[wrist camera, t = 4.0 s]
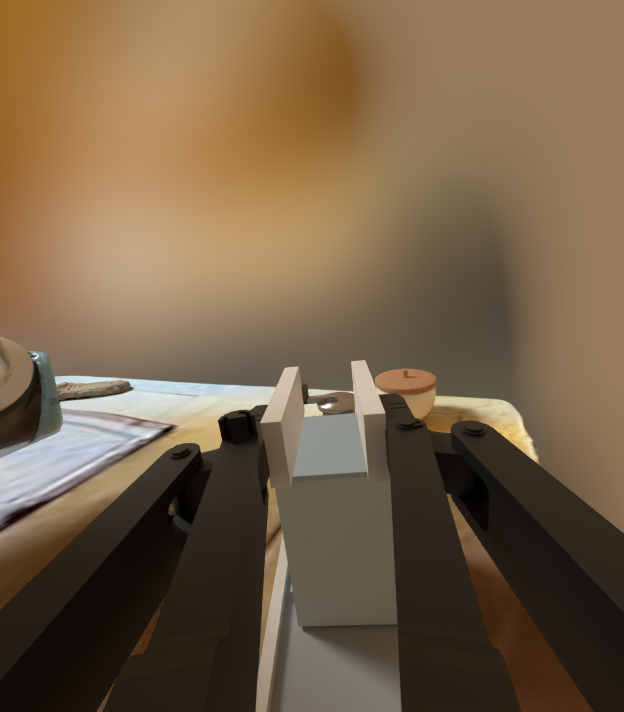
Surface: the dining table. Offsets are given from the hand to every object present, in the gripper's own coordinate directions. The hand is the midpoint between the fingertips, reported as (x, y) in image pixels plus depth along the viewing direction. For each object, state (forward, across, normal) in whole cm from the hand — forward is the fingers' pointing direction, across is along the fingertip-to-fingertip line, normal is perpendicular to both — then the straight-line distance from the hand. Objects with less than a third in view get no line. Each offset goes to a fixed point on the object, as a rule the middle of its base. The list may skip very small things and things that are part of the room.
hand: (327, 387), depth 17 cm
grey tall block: (+7, 0, -22) cm, 23 cm away
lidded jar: (+39, +12, -22) cm, 46 cm away
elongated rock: (+69, -81, -23) cm, 109 cm away
